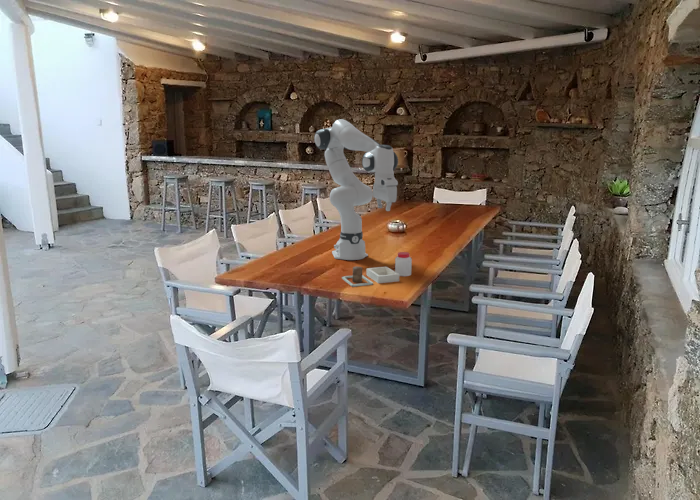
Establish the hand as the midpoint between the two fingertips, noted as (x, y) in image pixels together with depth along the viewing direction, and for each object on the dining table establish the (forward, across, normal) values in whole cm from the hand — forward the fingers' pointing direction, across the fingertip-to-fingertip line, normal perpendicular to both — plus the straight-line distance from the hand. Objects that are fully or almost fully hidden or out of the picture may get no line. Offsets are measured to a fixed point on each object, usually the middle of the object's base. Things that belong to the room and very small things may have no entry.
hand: (383, 209), depth 253 cm
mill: (+30, +12, -18) cm, 37 cm away
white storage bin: (+31, +11, -5) cm, 33 cm away
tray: (+31, +12, -18) cm, 38 cm away
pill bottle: (+31, +8, +7) cm, 33 cm away
